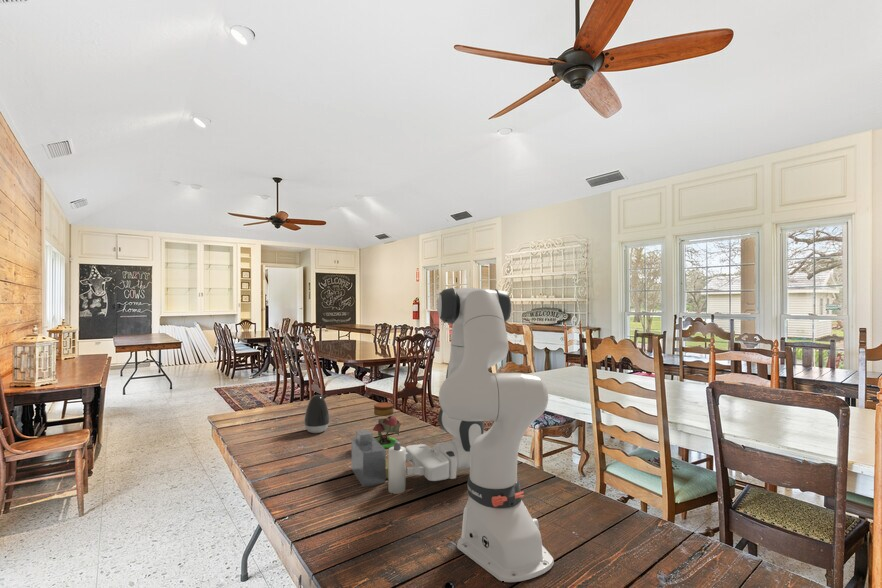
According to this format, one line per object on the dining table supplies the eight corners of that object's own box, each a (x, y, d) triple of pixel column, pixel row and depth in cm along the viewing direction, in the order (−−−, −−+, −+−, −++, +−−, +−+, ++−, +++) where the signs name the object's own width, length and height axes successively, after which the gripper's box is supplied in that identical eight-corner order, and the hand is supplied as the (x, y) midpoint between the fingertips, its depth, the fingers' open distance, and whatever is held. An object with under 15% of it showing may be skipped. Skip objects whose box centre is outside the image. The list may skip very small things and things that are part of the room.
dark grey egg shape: (335, 430, 178) (335, 394, 178) (315, 437, 169) (315, 399, 169) (318, 425, 183) (318, 390, 183) (298, 432, 175) (299, 395, 174)
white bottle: (407, 491, 123) (408, 443, 123) (391, 495, 121) (391, 446, 120) (401, 484, 127) (402, 438, 127) (386, 488, 125) (386, 440, 125)
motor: (403, 478, 131) (404, 437, 131) (363, 487, 126) (363, 443, 126) (387, 460, 146) (387, 422, 146) (350, 467, 140) (350, 428, 140)
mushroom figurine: (392, 451, 154) (392, 410, 154) (362, 446, 159) (362, 406, 159) (406, 440, 165) (406, 402, 165) (378, 436, 170) (378, 399, 170)
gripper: (429, 437, 140) (389, 443, 134) (458, 458, 121) (414, 467, 115) (429, 456, 140) (389, 463, 134) (458, 480, 121) (413, 490, 115)
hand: (401, 465), depth 124 cm, fingers open, 8 cm apart
